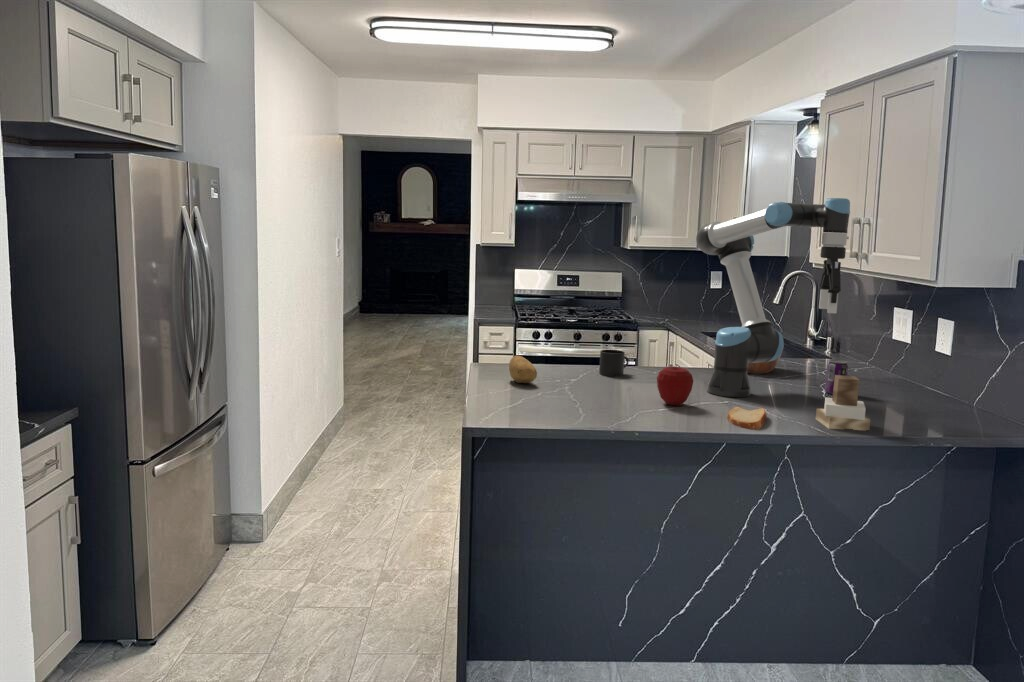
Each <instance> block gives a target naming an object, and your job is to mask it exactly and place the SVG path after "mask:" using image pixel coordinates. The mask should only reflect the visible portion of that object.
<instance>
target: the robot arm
mask: <svg viewBox="0 0 1024 682" xmlns="http://www.w3.org/2000/svg"><path fill="white" fill-rule="evenodd" d="M850 215H851V201H850V199H848V198H845V197H844V198H842V197H829V198H826V199H825V203H824V204H817V203H816V204H815V203H814V204H813V203H795V202H793V203H792V202H784V201H778V202H771V203H770V204H768V206H767V207H766V208H764V209H760V210H757V211H755V212H750V213H748V214H744V215H742V216H738V217H735V218H731V219H729V220H725V221H722V222H721V221H713V222H711V223H707V224H704V225H703V226H701V228H700V229H699V230H698V231H697V234H696V235H695V236H696V239H695V241H696V245H697V247H698V248H699V250H700V251H701V252H703V253H704V254H705V255H709V256H718V259H719V261H720V264H721V265H723V266H725V268H726V272H727V275H728V278H729V282H730V283H729V284H730V287H731V289H732V292H733V293H732V294H733V297H734V299H735V300H734V301H735V304H736V308H737V311H738V315H739V319H740V322H741V326H729V327H723V328H720V329H719V330H717V332H716V338H715V341H714V342H715V348H714V359H713V361H714V362H713V372H712V374H711V376H710V377H709V378H710V379H708V380H709V381H708V382H707V386H706V388H707V389H706V392H707V393H710V394H712V395H716V396H719V397H721V396H722V397H727V398H745V397H750V396H751V393H752V392H751V391H752V388H751V383H750V380H749V379H750V378H749V376H748V373H747V369H748V363H757V362H764V363H765V362H769V361H774V360H776V359H777V358H778V357H779V356H780V355H782V354H781V352H782V353H783V349H784V347H785V343H784V336H783V335H782V333H781V332H779V331H778V330H776V329H774V328H773V324H772V322H771V321H770V320H769V319H766V315H765V312H764V308H763V304H762V302H761V301H762V300H761V297H760V294H759V291H758V287H757V284H756V280H755V276H754V273H753V271H752V267H751V262H750V258H751V256H752V251H753V249H754V244H755V238H754V237H755V235H760V234H763V233H766V232H770V231H773V230H776V229H781V228H784V227H799V228H800V227H802V228H822V232H821V233H822V234H821V245H822V246H821V247H820V248H821V249H820V258H822V259H824V260H823V266H822V267H823V268H822V272H821V277H820V282H819V287H820V293H819V304H818V309H820V310H827V311H826V313H827V314H837V313H838V312H837V311H838V301H839V293H840V292H841V290H842V289H841V288H842V287H841V265H842V263H841V261H839V259H840V260H844V259H845V258H846V253H847V252H846V251H847V248H846V247H845V246H847V241H848V240H849V236H848V228H849V221H850ZM780 357H781V356H780Z"/></svg>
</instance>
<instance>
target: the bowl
mask: <svg viewBox="0 0 1024 682" xmlns="http://www.w3.org/2000/svg"><path fill="white" fill-rule="evenodd" d="M782 354H783V351H782V352H781V355H782ZM781 355H780V356H779V357H778V358H777V359H776V360H774V361H769V362H765V363H764V362H757V363H748V369H747V374H754V375H755V374H757V375H758V374H762V373H764V374H768V373H770V372H772V371H774V369H775V367H776V366H777V365H778V362H780V358H781Z"/></svg>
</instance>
